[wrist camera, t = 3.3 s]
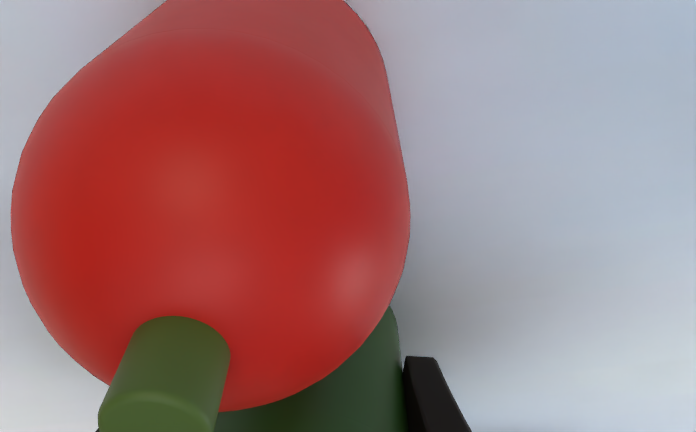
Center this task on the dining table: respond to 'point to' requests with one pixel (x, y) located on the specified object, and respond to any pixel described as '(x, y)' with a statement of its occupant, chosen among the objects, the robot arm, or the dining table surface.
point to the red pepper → (215, 208)
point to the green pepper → (340, 395)
